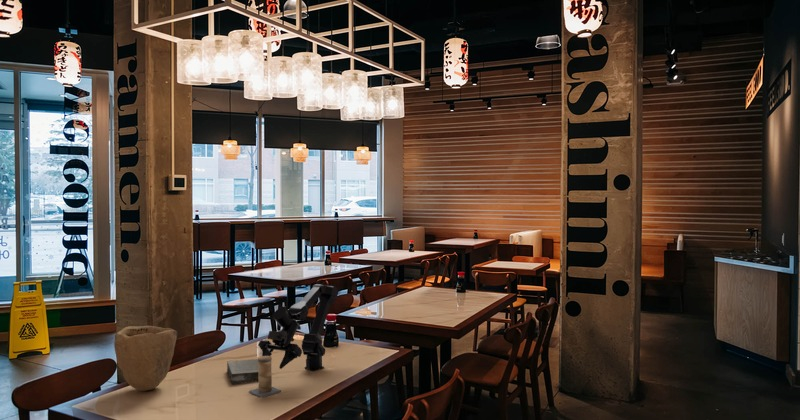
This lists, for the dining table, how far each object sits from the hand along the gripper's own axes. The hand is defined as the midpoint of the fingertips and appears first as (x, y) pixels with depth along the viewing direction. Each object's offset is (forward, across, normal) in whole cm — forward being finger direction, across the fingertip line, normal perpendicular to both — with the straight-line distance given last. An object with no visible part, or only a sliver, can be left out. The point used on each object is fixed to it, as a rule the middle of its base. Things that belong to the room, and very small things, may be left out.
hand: (270, 367), depth 214 cm
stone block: (0, -22, +13) cm, 25 cm away
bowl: (+21, -45, -9) cm, 51 cm away
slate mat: (+9, 0, +4) cm, 10 cm away
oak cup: (+8, 0, +3) cm, 9 cm away
